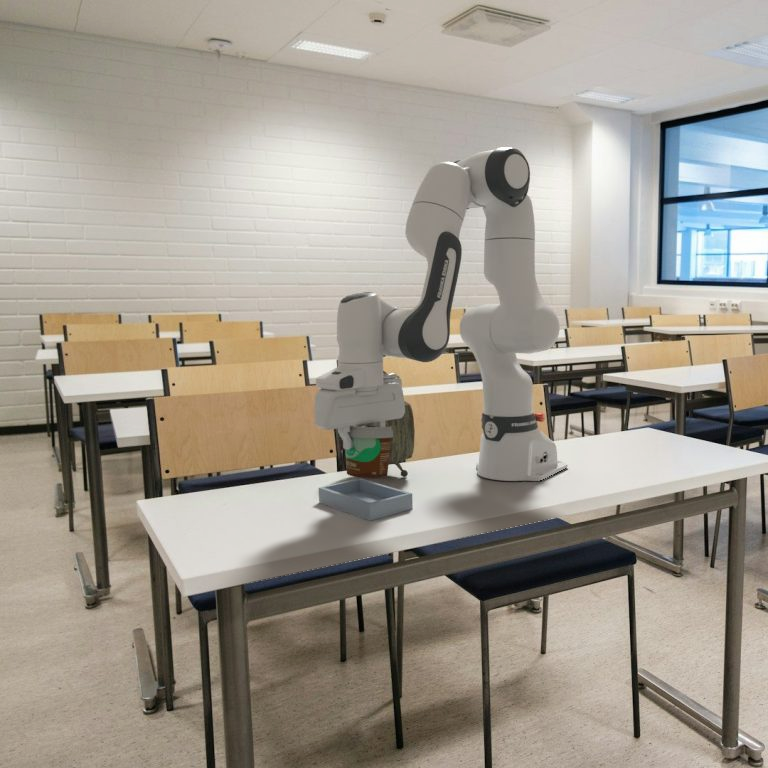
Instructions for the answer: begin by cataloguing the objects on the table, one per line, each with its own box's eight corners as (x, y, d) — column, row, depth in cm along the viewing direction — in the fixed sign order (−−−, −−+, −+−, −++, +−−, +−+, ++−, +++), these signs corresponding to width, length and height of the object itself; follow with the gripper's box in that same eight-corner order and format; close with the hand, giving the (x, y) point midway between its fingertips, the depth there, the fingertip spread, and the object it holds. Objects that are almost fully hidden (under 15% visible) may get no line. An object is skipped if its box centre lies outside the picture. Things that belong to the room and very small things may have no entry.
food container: (327, 472, 139) (327, 422, 138) (350, 468, 144) (351, 420, 143) (369, 482, 130) (370, 429, 130) (392, 477, 135) (393, 426, 134)
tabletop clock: (415, 477, 160) (413, 368, 157) (388, 485, 153) (385, 372, 150) (371, 467, 170) (368, 365, 167) (344, 475, 163) (340, 369, 160)
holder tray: (360, 492, 148) (359, 478, 148) (412, 508, 135) (412, 493, 135) (319, 502, 141) (318, 487, 141) (370, 520, 129) (369, 504, 128)
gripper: (390, 371, 144) (392, 436, 146) (308, 379, 131) (310, 451, 133) (411, 373, 139) (412, 440, 141) (327, 382, 126) (330, 456, 128)
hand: (362, 446), depth 137 cm, fingers closed on food container, 5 cm apart
